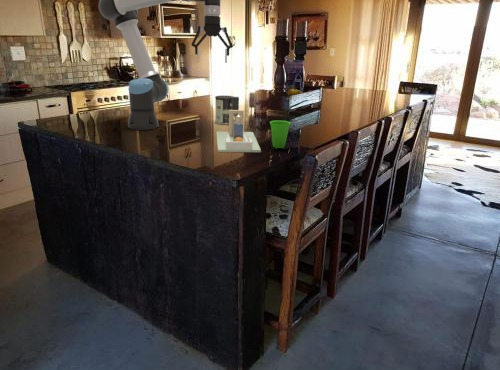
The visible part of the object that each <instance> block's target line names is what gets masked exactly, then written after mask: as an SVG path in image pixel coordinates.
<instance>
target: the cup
mask: <svg viewBox="0 0 500 370" xmlns="http://www.w3.org/2000/svg"><path fill="white" fill-rule="evenodd" d="M269 124H270V133H271V141H272V142H271V143H272V148H274V147H275V148H274V149H277V148H282V149H285V147H286V142H287V139H288V133H289V130H290V125H291V122H290V121H288V120H271V121H269Z"/></svg>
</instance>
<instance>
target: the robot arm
mask: <svg viewBox="0 0 500 370" xmlns="http://www.w3.org/2000/svg"><path fill="white" fill-rule="evenodd" d="M175 1H176V2H177V1H178V0H99V1H98V11H99V12H100V14H101V16H102V17H103V18H104V19H107V20H108V21H113V24H114V25H115V27H116V29H118V30H120V32H121V34H122V35H121V36H122V37H123V39H124V41H125V44H126V47H127V49H128V52H129V54H130V56H131V59H132V61H133V64H134V66H135V68H136V71H137V74H138V78H135V79H132V80H130V81H129V82H128V94H129V95H128V98H129V108H130V113H129V117H128V119H127V120H128V121H127V128H128V129H131V130H137V131H143V130H144V131H146V130H154V129H157V127H158V128H159V126H160V125H159V120H158V117H157V116H156V112H155V104H156V103H160V102H162V101H163V100H164V99H166V98H167V96H168V94H169V86H168V84H167V82H166V81H165V80H164V79H163V78H162V77H161V74H160V72H157V71H156V70H155V67H154V65H153V62H152V60H151V57H150V55H149V52H148V49H147V47H146V45H145V42H144V40H143V38H142V35H141V32H140V29H139V27H138V23H139V19H138V13H139V10H140V9H144V8H148V7H154V6H158V5H162V4H167V3H172V2H175ZM181 1H182V2H188V3H190V2H192V3H193V2H200V3H202V2H204V8H203V9H204V26H200V25H198V27H197V31H196V34H195V36H194V38H193V40H192V42H191V47H194V54H195V55H197V62H198V63H199V62H200V47H199V46H200V45H201V43H202V42H203V41H204V40H205V38H206V37H207V36H208V37H213V38H214V37H218V39H220V41H221V42H222V44H223V45H224V46H225V47H226V48H225V51H224V63H225V64H227V63H228V62H227V61H228V60H227V59H228V56H229V55H230V49H233V47H234V46H233V45H234V44H233V43H232V41H231V39H230V36H229V34H228V30H227V27H226V26H224V27H221V16H220V15H221V0H181ZM202 31H204V32H205V33H204V34H203V36H202V37H201V38H200V39H198V37H199V35H200V33H201V32H202ZM221 31H222V33H224V35H225V38H226V39H227V42H228V43H229V45H228V43H227V42H226V41H225V39H224V38H223V37H222V35H221V34H220V32H221ZM197 39H198V42H197Z"/></svg>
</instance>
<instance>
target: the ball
mask: <svg viewBox="0 0 500 370" xmlns="http://www.w3.org/2000/svg"><path fill="white" fill-rule="evenodd" d="M234 142H243V139H242V138H241V137H236V138H235V139H234Z"/></svg>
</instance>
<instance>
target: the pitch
mask: <svg viewBox="0 0 500 370" xmlns="http://www.w3.org/2000/svg"><path fill="white" fill-rule="evenodd" d="M234 113H239V115H240V116H241V117H242V120H241V122H240V124H243V125H244V119H245V118H244V115H245V114H244V113H245V112H244V110H243V109H239V110H229V124H228V131H216V132H215V133H216V145H217V146H216V147H217V153H262V150H261V147H260V145H259V142H258V141H257V138H256V136H255V133H254V131H243V142H233V132H234V124H236V121H235V117H234Z"/></svg>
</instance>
